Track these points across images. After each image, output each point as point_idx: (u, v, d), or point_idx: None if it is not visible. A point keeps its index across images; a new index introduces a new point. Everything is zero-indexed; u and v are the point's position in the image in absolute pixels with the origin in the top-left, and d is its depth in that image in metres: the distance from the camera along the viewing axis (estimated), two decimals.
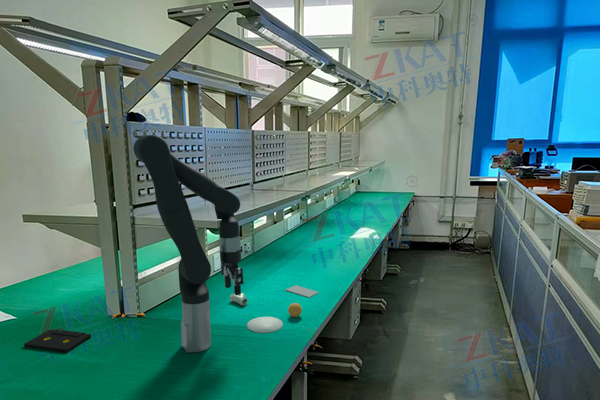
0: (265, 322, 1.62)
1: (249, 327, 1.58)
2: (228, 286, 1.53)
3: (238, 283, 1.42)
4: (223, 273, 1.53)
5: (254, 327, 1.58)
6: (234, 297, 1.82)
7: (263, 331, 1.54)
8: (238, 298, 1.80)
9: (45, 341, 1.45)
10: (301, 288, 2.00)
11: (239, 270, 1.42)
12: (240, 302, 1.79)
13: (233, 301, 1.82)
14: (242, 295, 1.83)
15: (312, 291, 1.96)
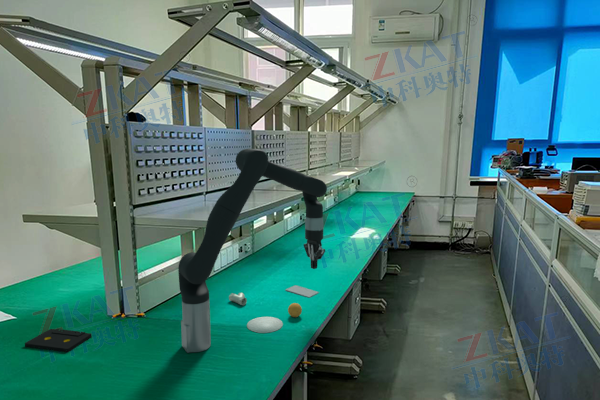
0: (265, 322, 1.62)
1: (249, 327, 1.58)
2: None
3: None
4: (309, 254, 1.72)
5: (254, 327, 1.58)
6: (233, 297, 1.82)
7: (263, 331, 1.54)
8: (237, 298, 1.81)
9: (46, 340, 1.45)
10: (301, 288, 2.00)
11: (322, 252, 1.65)
12: (239, 302, 1.79)
13: (232, 301, 1.83)
14: (241, 295, 1.84)
15: (312, 291, 1.96)
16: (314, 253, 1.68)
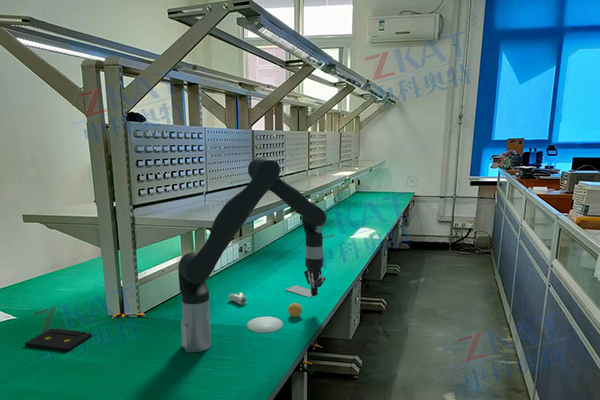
0: (265, 322, 1.62)
1: (249, 327, 1.58)
2: None
3: None
4: (309, 281, 1.73)
5: (254, 327, 1.58)
6: (233, 296, 1.83)
7: (263, 331, 1.54)
8: (237, 297, 1.81)
9: (46, 340, 1.45)
10: (301, 288, 2.00)
11: (322, 280, 1.67)
12: (239, 301, 1.80)
13: (232, 300, 1.83)
14: (241, 294, 1.84)
15: None
16: (314, 281, 1.70)
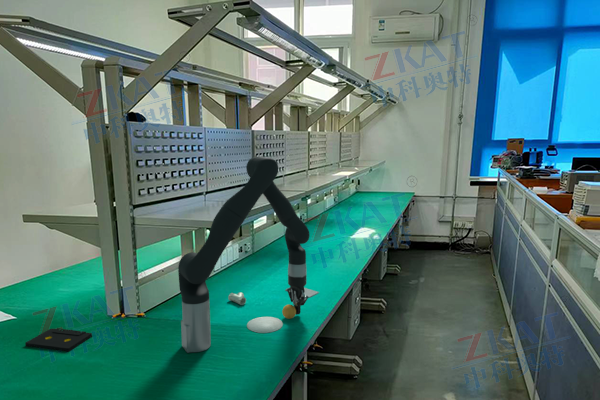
0: (265, 322, 1.62)
1: (249, 327, 1.58)
2: None
3: None
4: (292, 299, 1.70)
5: (254, 327, 1.58)
6: (233, 296, 1.83)
7: (263, 331, 1.54)
8: (237, 297, 1.81)
9: (46, 340, 1.46)
10: None
11: (305, 299, 1.63)
12: (238, 301, 1.80)
13: (232, 300, 1.83)
14: (241, 294, 1.84)
15: (312, 291, 1.96)
16: (297, 299, 1.66)
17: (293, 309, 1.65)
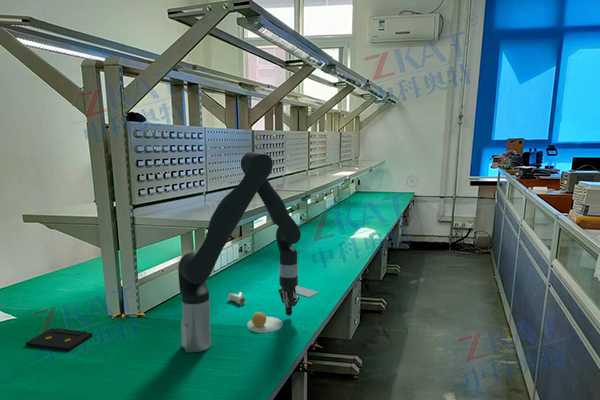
0: None
1: (249, 327, 1.58)
2: None
3: None
4: (283, 300, 1.67)
5: (254, 327, 1.58)
6: (232, 296, 1.83)
7: (263, 331, 1.54)
8: (236, 297, 1.81)
9: (47, 340, 1.46)
10: (301, 288, 2.00)
11: (296, 300, 1.61)
12: (238, 301, 1.80)
13: (231, 300, 1.84)
14: (240, 294, 1.84)
15: (312, 291, 1.96)
16: (288, 300, 1.64)
17: (265, 321, 1.58)
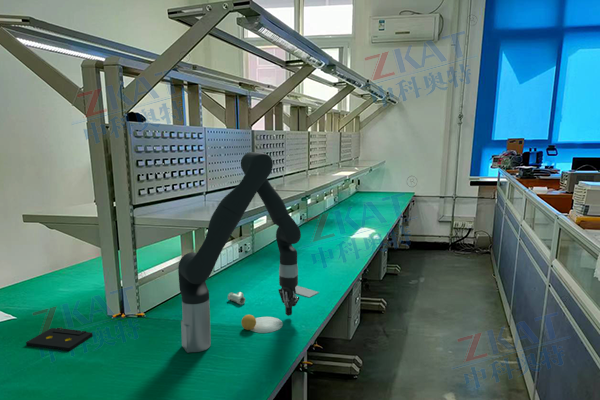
0: (265, 322, 1.62)
1: None
2: None
3: None
4: (283, 300, 1.67)
5: (254, 327, 1.58)
6: (232, 296, 1.83)
7: (263, 331, 1.54)
8: (236, 297, 1.82)
9: (47, 340, 1.46)
10: (301, 288, 2.00)
11: (296, 300, 1.61)
12: (238, 301, 1.80)
13: (231, 300, 1.84)
14: (240, 294, 1.85)
15: (312, 291, 1.96)
16: (288, 300, 1.64)
17: (252, 320, 1.55)
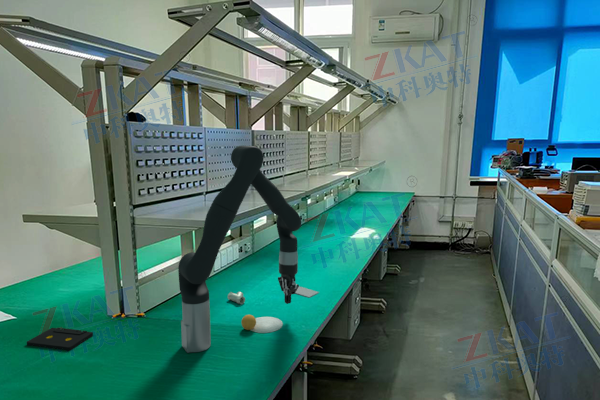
0: (265, 322, 1.62)
1: None
2: None
3: None
4: None
5: (254, 327, 1.58)
6: (232, 295, 1.84)
7: (263, 331, 1.54)
8: (236, 297, 1.82)
9: (47, 339, 1.46)
10: (301, 288, 2.00)
11: (296, 287, 1.60)
12: (237, 301, 1.81)
13: (231, 299, 1.84)
14: (240, 294, 1.85)
15: (312, 291, 1.96)
16: (288, 288, 1.63)
17: (252, 320, 1.55)
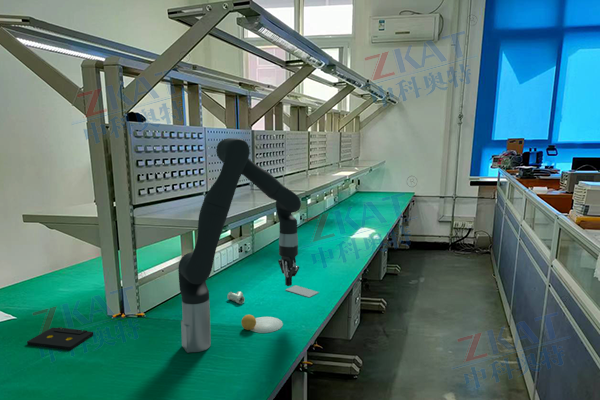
0: (265, 322, 1.62)
1: None
2: None
3: None
4: (283, 270, 1.66)
5: (254, 327, 1.58)
6: (231, 295, 1.84)
7: (263, 331, 1.54)
8: (235, 296, 1.83)
9: (48, 339, 1.46)
10: (301, 288, 2.00)
11: (296, 269, 1.59)
12: (237, 300, 1.81)
13: (231, 299, 1.85)
14: (239, 293, 1.85)
15: (312, 291, 1.96)
16: (288, 270, 1.62)
17: (252, 320, 1.55)
